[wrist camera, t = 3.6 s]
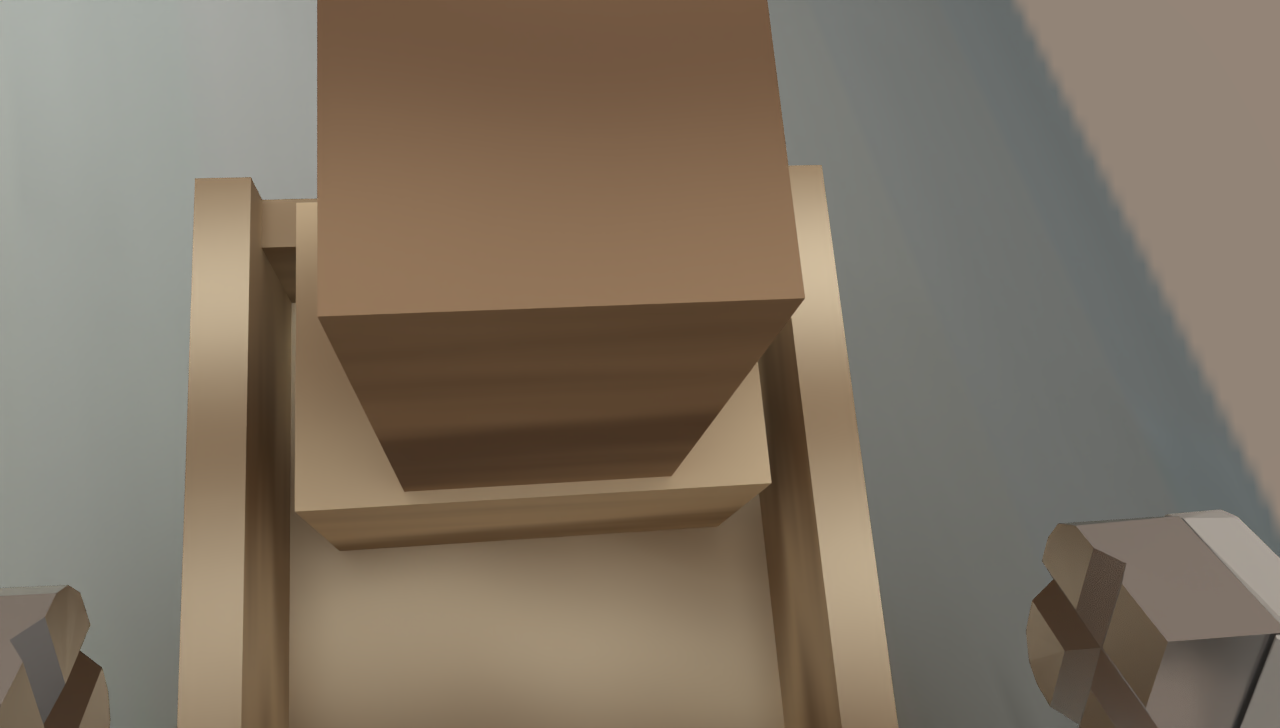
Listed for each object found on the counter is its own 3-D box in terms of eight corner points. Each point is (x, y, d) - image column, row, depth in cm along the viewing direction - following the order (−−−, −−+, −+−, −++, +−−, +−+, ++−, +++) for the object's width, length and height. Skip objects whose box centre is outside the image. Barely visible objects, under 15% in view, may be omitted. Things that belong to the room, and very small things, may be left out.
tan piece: (828, 784, 24) (1081, 853, 13) (243, 840, 22) (10, 969, 12) (766, 258, 27) (929, -18, 17) (253, 275, 26) (76, -18, 15)
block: (671, 476, 19) (804, 297, 11) (404, 491, 19) (317, 317, 10) (650, 233, 20) (754, -103, 12) (399, 240, 20) (317, -107, 11)
